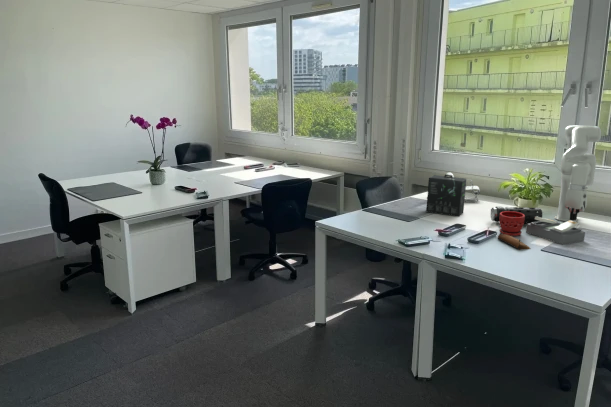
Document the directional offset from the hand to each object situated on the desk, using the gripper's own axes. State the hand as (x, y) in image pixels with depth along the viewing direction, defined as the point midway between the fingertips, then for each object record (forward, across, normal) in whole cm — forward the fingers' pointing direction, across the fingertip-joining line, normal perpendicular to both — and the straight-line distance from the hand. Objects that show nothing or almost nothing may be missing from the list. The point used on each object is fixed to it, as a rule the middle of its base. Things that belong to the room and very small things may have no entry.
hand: (572, 220), depth 247 cm
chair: (+11, +99, -9) cm, 100 cm away
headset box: (+11, +73, +27) cm, 78 cm away
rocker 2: (+3, 0, +4) cm, 5 cm away
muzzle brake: (+11, +36, +3) cm, 37 cm away
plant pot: (+11, +20, +23) cm, 32 cm away
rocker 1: (+3, +13, +4) cm, 14 cm away
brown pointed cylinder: (+12, +5, +35) cm, 38 cm away
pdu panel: (+11, +8, +4) cm, 14 cm away
